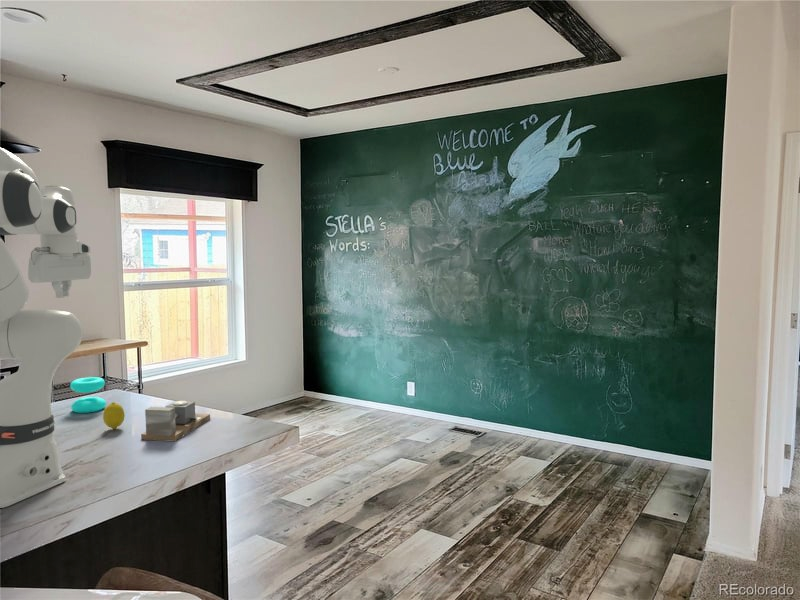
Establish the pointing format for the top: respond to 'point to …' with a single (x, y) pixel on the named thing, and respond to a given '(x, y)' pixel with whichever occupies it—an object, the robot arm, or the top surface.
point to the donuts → (89, 402)
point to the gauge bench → (179, 429)
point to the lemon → (113, 415)
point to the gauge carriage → (183, 411)
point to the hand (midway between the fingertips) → (62, 297)
